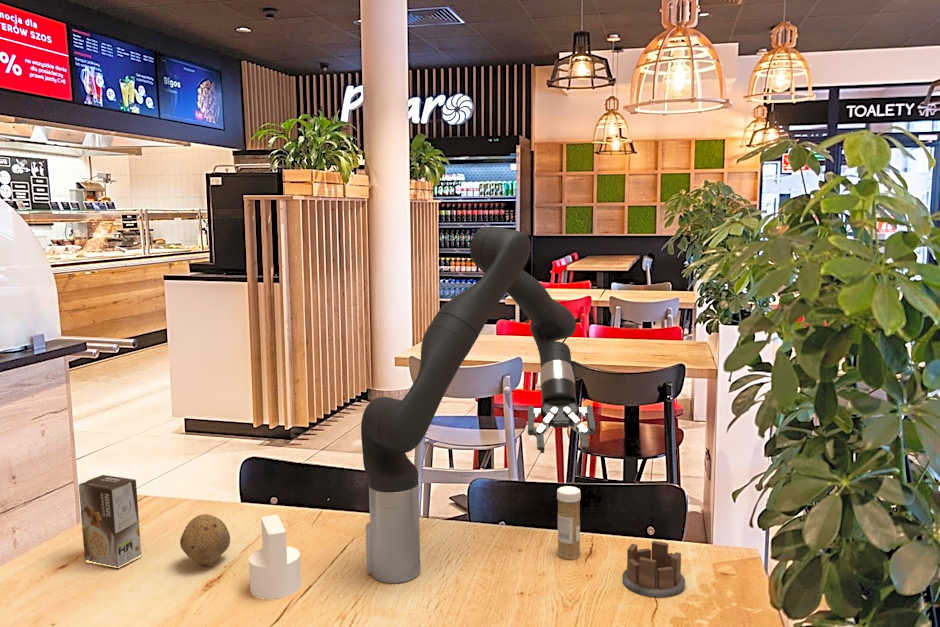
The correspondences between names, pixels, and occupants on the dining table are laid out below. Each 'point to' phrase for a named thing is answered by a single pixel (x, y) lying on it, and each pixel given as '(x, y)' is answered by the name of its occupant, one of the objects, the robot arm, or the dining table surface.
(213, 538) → the brown potato
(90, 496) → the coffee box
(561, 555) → the sprinkles bottle
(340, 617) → the dining table surface
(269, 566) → the base with upright slab
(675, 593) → the castellated collar
